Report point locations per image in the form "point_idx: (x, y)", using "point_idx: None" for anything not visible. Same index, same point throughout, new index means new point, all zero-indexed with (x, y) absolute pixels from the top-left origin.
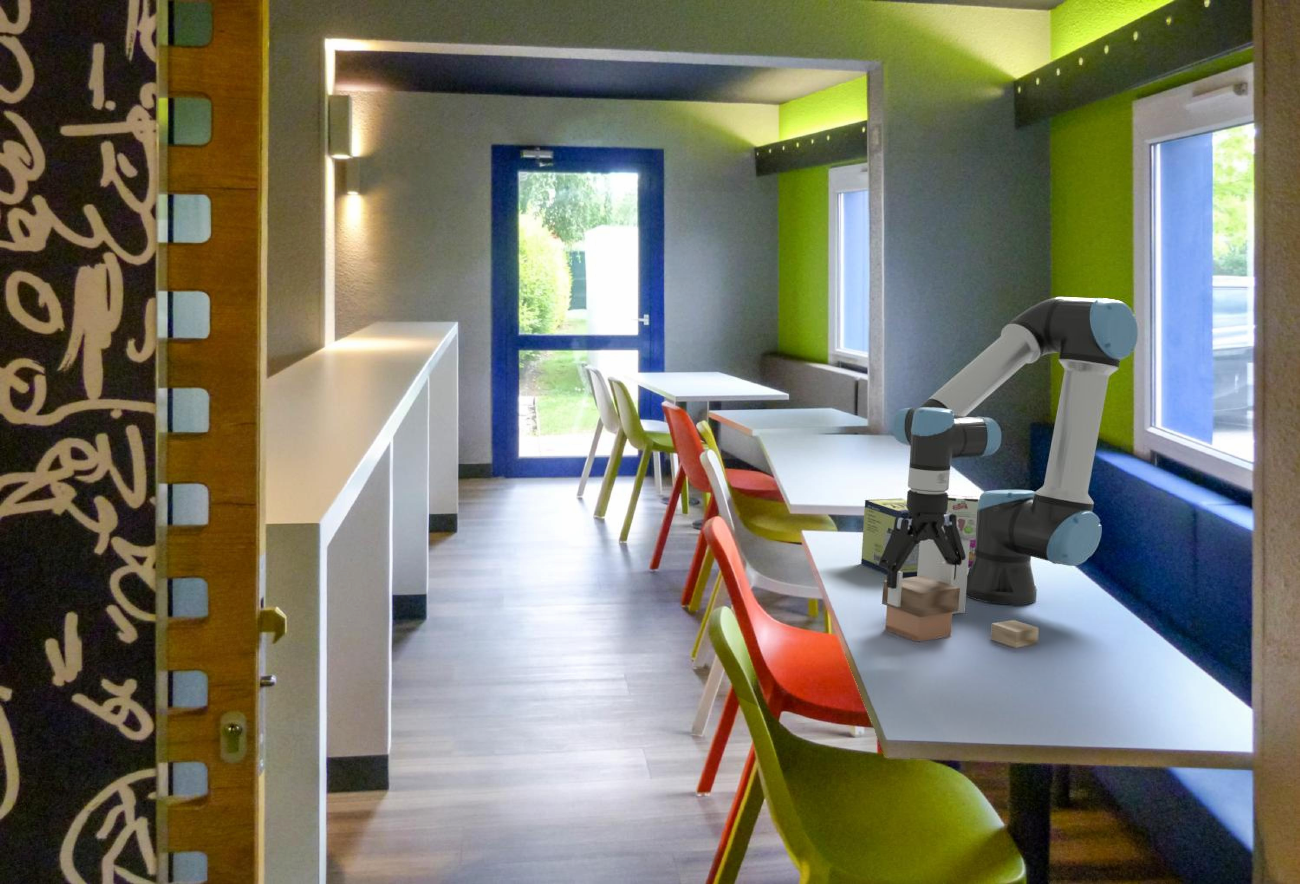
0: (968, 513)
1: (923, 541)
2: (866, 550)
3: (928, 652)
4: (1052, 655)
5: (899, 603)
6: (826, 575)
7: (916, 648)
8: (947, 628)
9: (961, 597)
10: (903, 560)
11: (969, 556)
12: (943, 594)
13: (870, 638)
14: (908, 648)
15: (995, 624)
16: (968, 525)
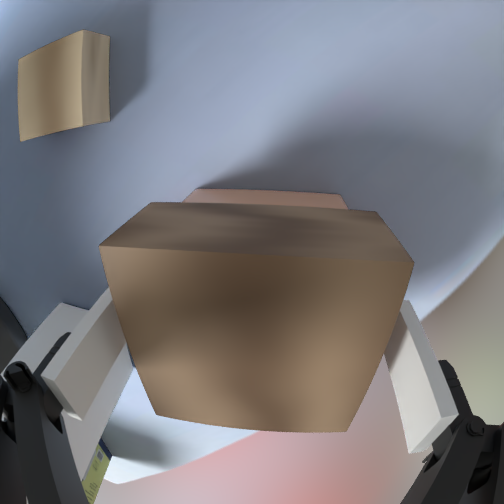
0: None
1: None
2: (104, 466)
3: (392, 107)
4: None
5: (404, 307)
6: (176, 466)
7: (393, 153)
8: (205, 196)
9: (50, 325)
10: (449, 476)
11: None
12: (226, 240)
13: (416, 278)
14: (412, 166)
15: (79, 114)
16: None
